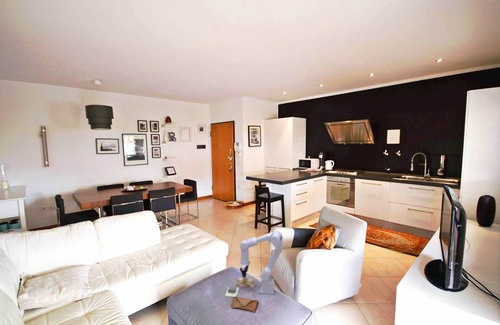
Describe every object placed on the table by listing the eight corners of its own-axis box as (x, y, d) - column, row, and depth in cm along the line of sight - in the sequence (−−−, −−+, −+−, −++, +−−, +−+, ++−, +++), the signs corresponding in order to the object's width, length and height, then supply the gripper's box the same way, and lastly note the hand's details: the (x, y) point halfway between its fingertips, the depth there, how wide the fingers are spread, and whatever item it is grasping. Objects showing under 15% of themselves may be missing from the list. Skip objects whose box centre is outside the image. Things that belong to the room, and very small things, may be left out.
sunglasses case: (228, 308, 146) (230, 296, 149) (232, 307, 152) (233, 295, 155) (256, 313, 142) (257, 300, 144) (258, 311, 148) (259, 299, 151)
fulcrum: (239, 288, 166) (239, 284, 166) (236, 297, 156) (235, 293, 156) (228, 287, 168) (228, 283, 167) (224, 296, 158) (224, 292, 158)
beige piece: (253, 285, 170) (253, 278, 170) (253, 287, 167) (253, 281, 167) (238, 284, 172) (237, 277, 171) (237, 286, 169) (237, 280, 168)
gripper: (241, 251, 176) (241, 268, 177) (237, 261, 161) (237, 279, 162) (250, 252, 174) (250, 269, 175) (247, 262, 160) (247, 280, 161)
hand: (245, 274), depth 169 cm, fingers open, 7 cm apart
